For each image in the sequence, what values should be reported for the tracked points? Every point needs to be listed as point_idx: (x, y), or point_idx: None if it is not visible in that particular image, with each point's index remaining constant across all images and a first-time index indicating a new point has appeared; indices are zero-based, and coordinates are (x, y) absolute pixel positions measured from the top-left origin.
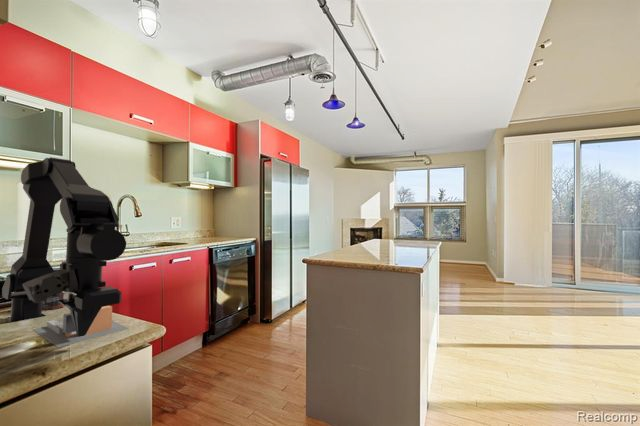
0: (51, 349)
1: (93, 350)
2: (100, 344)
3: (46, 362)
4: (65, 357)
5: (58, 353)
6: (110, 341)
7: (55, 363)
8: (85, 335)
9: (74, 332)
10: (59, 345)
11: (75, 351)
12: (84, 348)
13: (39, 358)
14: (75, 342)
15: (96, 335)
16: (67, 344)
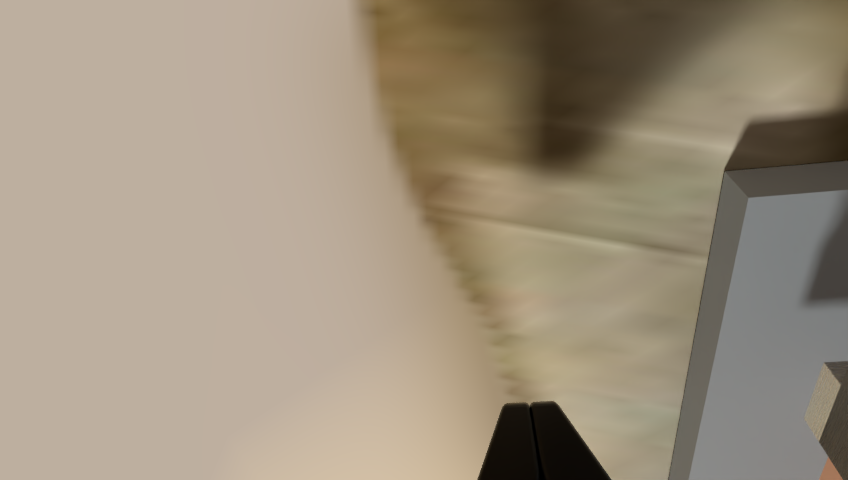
0: None
1: (495, 358)
2: (588, 412)
3: (526, 48)
4: (516, 192)
5: (688, 170)
6: None
7: (426, 105)
8: None
9: (824, 395)
10: (789, 216)
11: (599, 273)
12: (607, 329)
13: (721, 11)
14: (724, 324)
15: (735, 453)
16: (741, 270)
